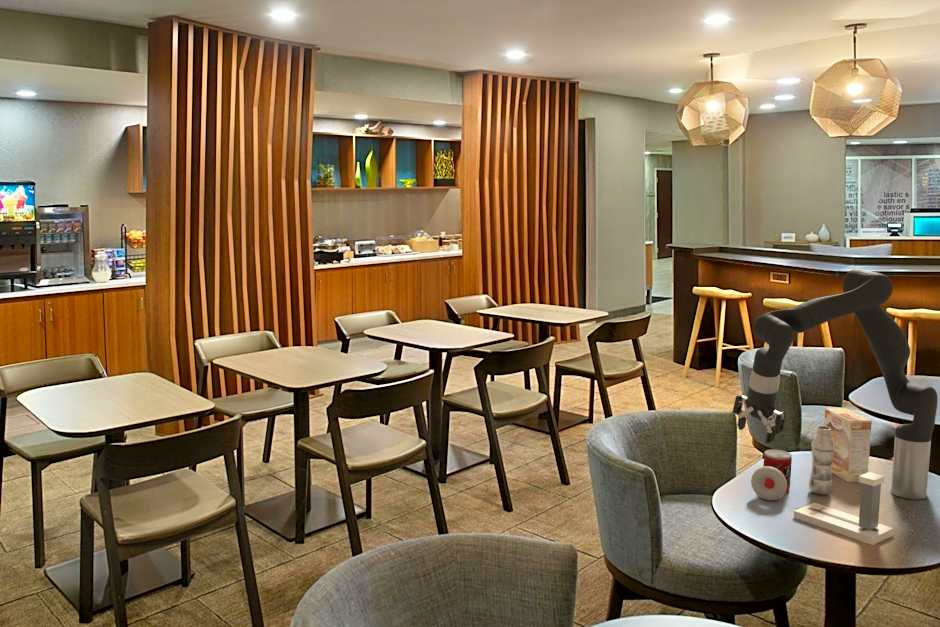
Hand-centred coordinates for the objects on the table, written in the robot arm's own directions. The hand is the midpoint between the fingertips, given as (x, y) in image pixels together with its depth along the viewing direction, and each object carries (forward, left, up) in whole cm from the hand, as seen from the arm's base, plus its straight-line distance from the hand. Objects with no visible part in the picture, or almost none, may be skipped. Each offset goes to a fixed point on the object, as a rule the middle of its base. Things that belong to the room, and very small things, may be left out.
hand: (754, 435), depth 226 cm
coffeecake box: (-49, 0, -22) cm, 53 cm away
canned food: (-20, -5, -22) cm, 30 cm away
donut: (-10, -1, -22) cm, 24 cm away
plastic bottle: (-27, +5, -22) cm, 35 cm away
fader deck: (-9, +22, -21) cm, 32 cm away
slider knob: (-9, +29, -19) cm, 36 cm away
